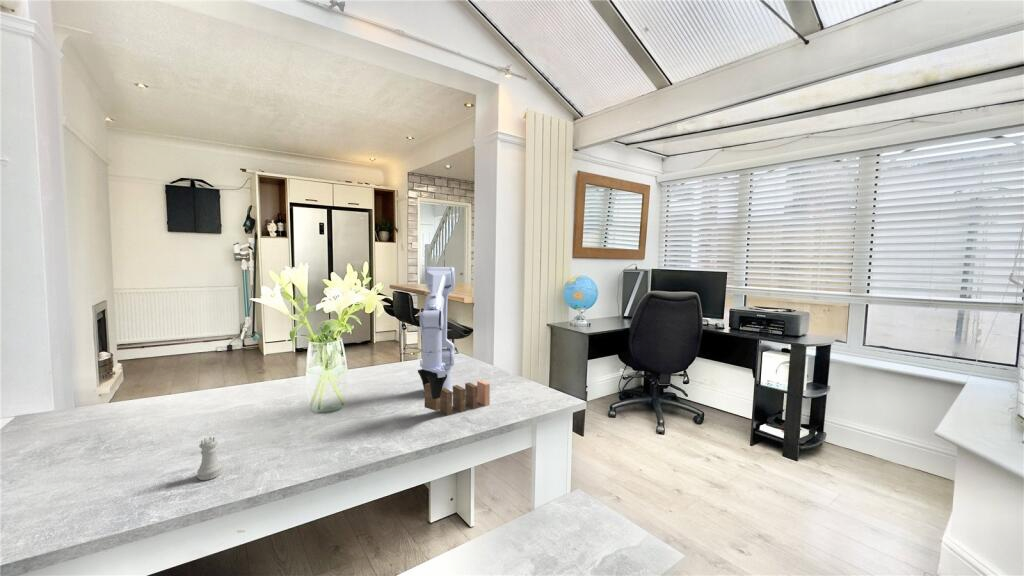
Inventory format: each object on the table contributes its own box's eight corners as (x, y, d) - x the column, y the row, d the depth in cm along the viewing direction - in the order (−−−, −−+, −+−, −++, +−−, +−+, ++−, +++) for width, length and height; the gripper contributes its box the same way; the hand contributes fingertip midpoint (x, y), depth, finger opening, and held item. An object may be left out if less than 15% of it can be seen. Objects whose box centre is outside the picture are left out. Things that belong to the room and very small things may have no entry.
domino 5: (485, 406, 130) (485, 384, 130) (477, 401, 134) (477, 380, 134) (489, 405, 131) (489, 383, 131) (481, 400, 135) (481, 380, 135)
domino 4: (473, 409, 127) (473, 387, 127) (465, 404, 131) (465, 383, 131) (477, 408, 128) (477, 386, 128) (469, 403, 132) (469, 382, 132)
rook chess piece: (205, 470, 90) (204, 435, 89) (227, 470, 90) (225, 434, 89) (191, 481, 85) (189, 444, 85) (214, 480, 86) (212, 444, 85)
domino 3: (460, 412, 125) (460, 390, 124) (452, 407, 129) (452, 385, 128) (465, 411, 126) (465, 389, 125) (457, 406, 130) (457, 384, 129)
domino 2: (447, 415, 122) (447, 392, 122) (439, 410, 126) (439, 388, 126) (452, 414, 123) (452, 391, 123) (444, 409, 127) (444, 387, 127)
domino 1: (436, 411, 120) (436, 387, 119) (424, 407, 123) (424, 384, 122) (440, 409, 121) (440, 386, 120) (428, 405, 124) (428, 383, 123)
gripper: (454, 353, 117) (455, 399, 118) (435, 344, 129) (435, 386, 130) (431, 356, 113) (432, 404, 114) (413, 347, 125) (413, 390, 126)
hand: (432, 395), depth 121 cm, fingers closed on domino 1, 5 cm apart
